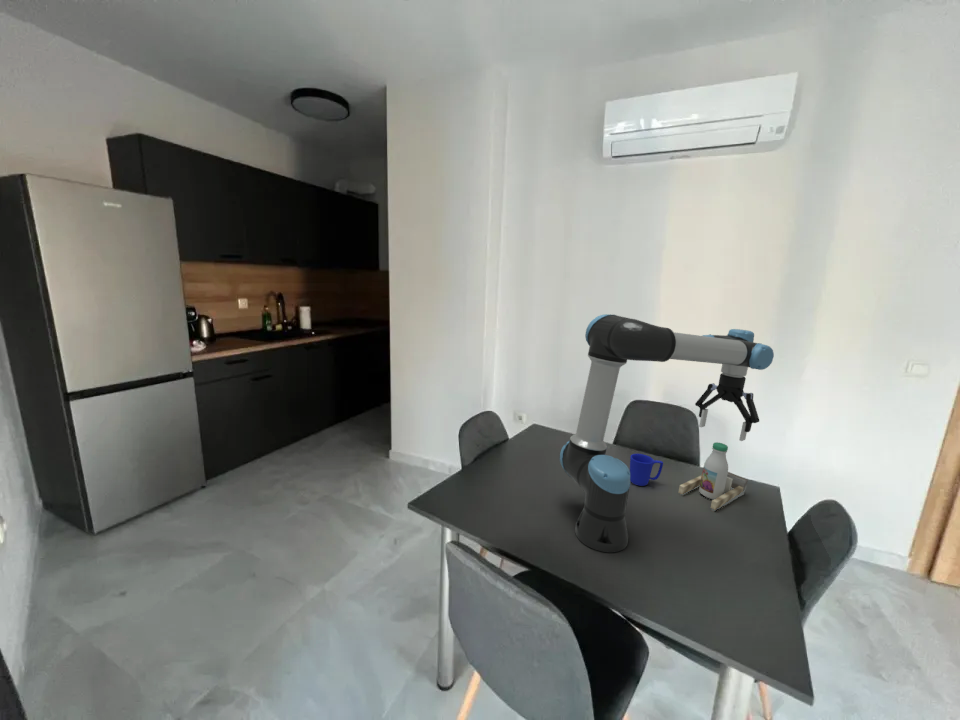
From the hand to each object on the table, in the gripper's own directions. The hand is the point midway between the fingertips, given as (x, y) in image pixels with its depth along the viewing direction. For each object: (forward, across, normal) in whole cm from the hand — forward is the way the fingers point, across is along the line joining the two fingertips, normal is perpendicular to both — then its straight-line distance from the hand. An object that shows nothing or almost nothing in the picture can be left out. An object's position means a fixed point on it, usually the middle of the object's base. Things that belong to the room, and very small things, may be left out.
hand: (721, 433), depth 144 cm
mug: (+25, +18, +14) cm, 33 cm away
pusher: (+24, 0, -6) cm, 25 cm away
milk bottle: (+24, 0, 0) cm, 24 cm away
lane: (+24, 0, -2) cm, 24 cm away
